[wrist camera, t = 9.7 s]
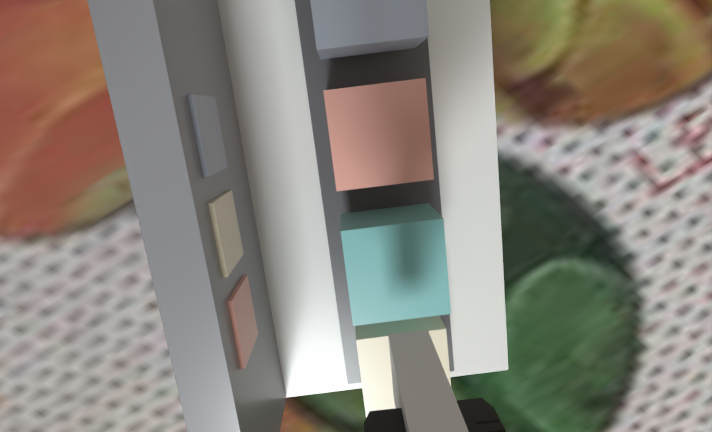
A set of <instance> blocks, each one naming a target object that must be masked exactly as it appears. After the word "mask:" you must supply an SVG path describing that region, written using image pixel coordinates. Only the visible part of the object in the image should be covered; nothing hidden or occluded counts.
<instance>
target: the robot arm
mask: <svg viewBox="0 0 712 432" xmlns="http://www.w3.org/2000/svg"><path fill="white" fill-rule="evenodd" d="M388 338H389V349H390V360H391V371H392V383H393V394H394V402H395V407H396V408H395V409H385V410H376V411H370V412H369V414H368V416H367V418H366V420H365V422H364V429H365V432H505V428H504V426H503V425H502V423H501V422H500V419H499V417H498V415H497V413H496V411H495V409H494V407H492V406H491V405H490V404H489V403H487V402H486V401H485V400H484V399H482V398H477V399H467V400H458V401H456V399H455V396H454V394H453V391H452V389H451V386H450V384H449V381H448V379H447V376H446V374H445V371H444V369H443V366H442V364H441V361H440V359H439V356H438V354H437V351H436V349H435V346H434V344H433V341H432V339H431V336H430V334H429V331H428V330H425V331H415V332H406V333H396V334H388Z"/></svg>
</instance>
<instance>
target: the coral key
mask: <svg viewBox="0 0 712 432" xmlns="http://www.w3.org/2000/svg"><path fill="white" fill-rule="evenodd" d="M323 92H324V100H325V107H326V115H327V123H328V130H329V138H330V146H331V153H332V161H333V168H334V176H335V184H336V191H344V190H353V189H361V188H369V187H377V186H385V185H393V184H401V183H409V182H417V181H426V180H434V174H433V162H432V150H431V138H430V125H429V113H428V101H427V89H426V78H421V79H413V80H405V81H396V82H388V83H380V84H372V85H364V86H356V87H347V88H339V89H331V90H323Z"/></svg>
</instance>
